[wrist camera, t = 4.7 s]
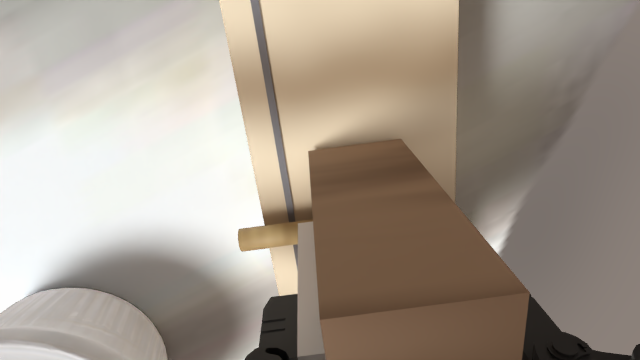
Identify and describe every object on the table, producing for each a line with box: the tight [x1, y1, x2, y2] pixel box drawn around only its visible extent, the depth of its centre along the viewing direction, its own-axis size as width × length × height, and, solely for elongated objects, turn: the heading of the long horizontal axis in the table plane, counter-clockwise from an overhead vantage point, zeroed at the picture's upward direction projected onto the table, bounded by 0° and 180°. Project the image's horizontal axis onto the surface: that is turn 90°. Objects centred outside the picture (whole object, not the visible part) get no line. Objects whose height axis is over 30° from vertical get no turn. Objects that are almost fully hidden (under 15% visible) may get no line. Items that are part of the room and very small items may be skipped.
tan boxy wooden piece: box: [238, 139, 530, 360], centre depth 13 cm, size 7×8×11 cm
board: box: [219, 0, 459, 296], centre depth 17 cm, size 24×9×3 cm, turn 7°
